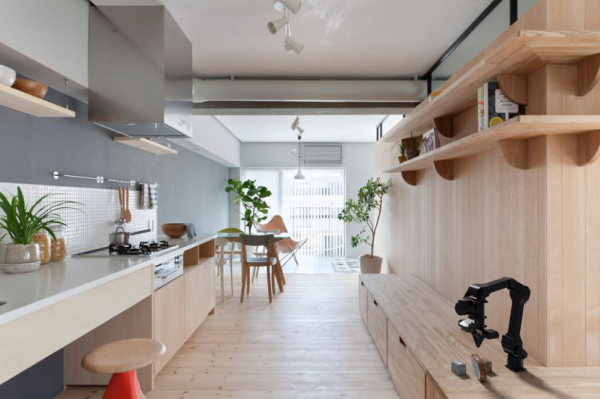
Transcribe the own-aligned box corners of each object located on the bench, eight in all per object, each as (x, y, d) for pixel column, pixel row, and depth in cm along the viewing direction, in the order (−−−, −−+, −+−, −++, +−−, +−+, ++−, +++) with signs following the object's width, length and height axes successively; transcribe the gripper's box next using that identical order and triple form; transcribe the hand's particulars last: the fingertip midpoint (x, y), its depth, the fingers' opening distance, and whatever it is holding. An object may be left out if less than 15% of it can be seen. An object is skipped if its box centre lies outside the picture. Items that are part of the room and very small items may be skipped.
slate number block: (459, 369, 170) (458, 359, 170) (466, 373, 166) (466, 363, 166) (451, 370, 169) (451, 360, 169) (458, 375, 164) (458, 365, 164)
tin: (487, 384, 156) (487, 365, 156) (479, 384, 156) (479, 364, 156) (477, 368, 170) (477, 350, 170) (470, 368, 171) (470, 350, 171)
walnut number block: (484, 366, 172) (484, 356, 172) (492, 371, 168) (491, 360, 168) (476, 368, 171) (476, 358, 171) (484, 372, 167) (484, 362, 167)
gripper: (448, 309, 170) (448, 342, 170) (479, 321, 152) (479, 358, 152) (467, 306, 173) (468, 338, 173) (500, 318, 155) (500, 354, 155)
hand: (477, 347), depth 163 cm, fingers closed
